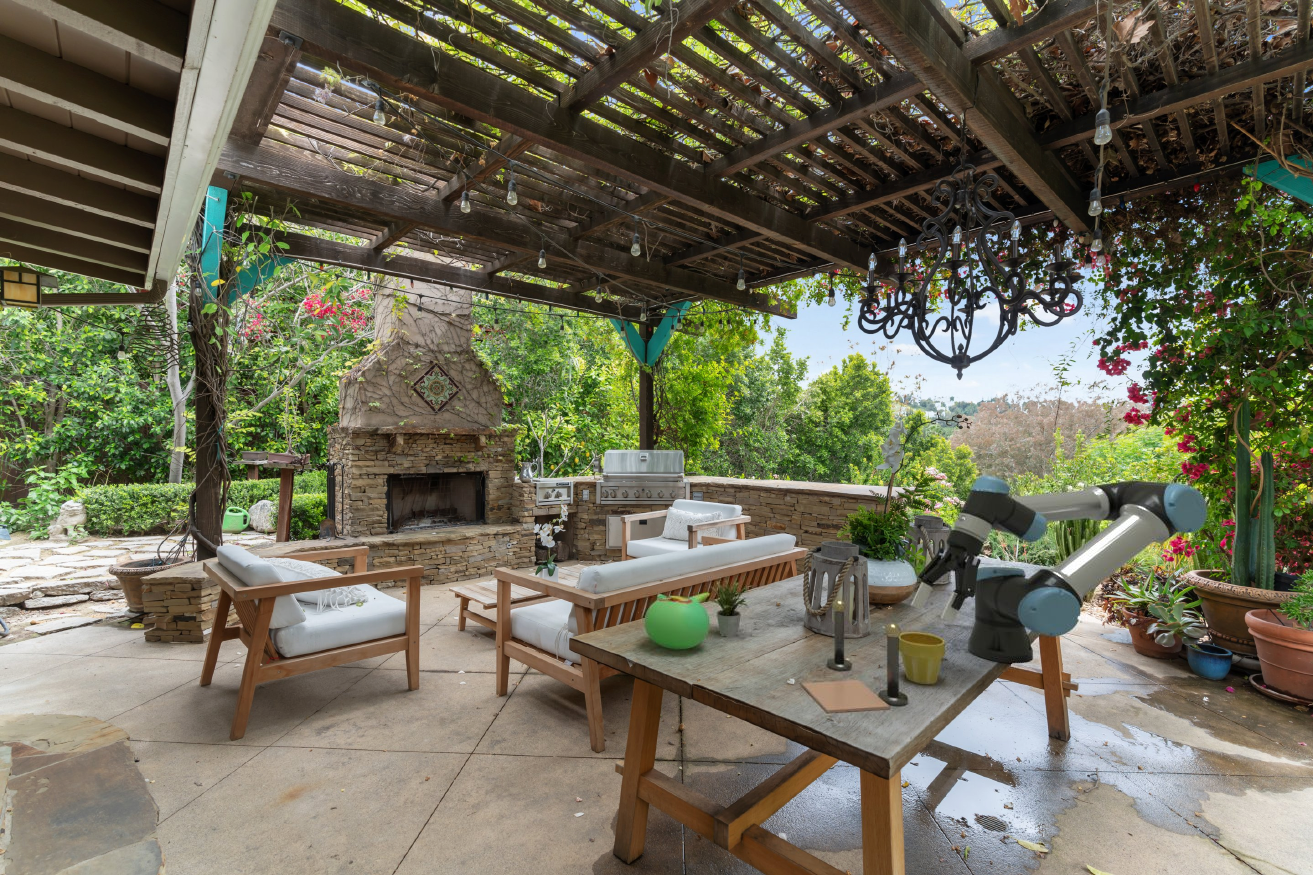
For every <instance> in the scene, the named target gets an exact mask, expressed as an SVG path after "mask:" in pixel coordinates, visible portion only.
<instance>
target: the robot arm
mask: <svg viewBox="0 0 1313 875" xmlns="http://www.w3.org/2000/svg"><path fill="white" fill-rule="evenodd" d="M1010 491H1011V486H1010V484H1008V483H1007V482H1006V481H1004V480H1002V479H1000V478H997V477H995V476H992V475H988V474H987V475H984V474H982V475H980V476H979V477H977V479H976V480H975V482H974V483H973V486H972V487H971V489H970V491H969V494H968V496H967V497H966V500H965V502H964V505H963V506H962V509H961V510H960V513H959V515H958V516H957V519H956V521H955V523H954V524H953V528H954V529H953V530H951V531H950V532H949V535H948V537H947V540H946V544H947V545H948V546H949V547H948V549H944V548H943V547H939V549H938V550H937V553H936V554H935V556H933V558H932V559H931V560H930V561H929V563H928V564H927V565H926V566H925V567H924V568H923V569H922V570H921V572H920V573H919V575H918V576H917V577H918V579H920V582H921V583H920V584H919V587H918V589H917V591H916V593H915V596H914V597H913V599H912V602H911V603H910V606H912V607H914V608H915V609H917V610H919V611H921V612H922V611H923V608H924V606H925V605H926V602H927V601H928V599H929V595H930V594H931V592H932V590H933V588H934V584H935V583H936V582H937V581H938V580H939V579H941V578H942V577H943V576H945V575H946V573H949V572H954V581H955V582H954V584H955V589H954V590H952V593H951V595H950V597H949V599H948V601H947V603H946V605H945V608H944V610H943V612H942V614H941V616H940V619H941V620H943V621H945V622H947V623H949V624H950V625H953V624H954V622H955V619H956V618H957V615H958V613H959V612H960V610H961V608H962V606H963V604H964V602H965V600H966V599H968V598H974V624H973V627H972V629H971V632H970V635H969V638H968V640H967V649H968V652H970V653H971V654H973V655H975V656H977V657H980V658H982V659H986V660H989V661H993V662H998V663H1008V664H1026V663H1027V664H1028V663H1030V662H1032V661H1033V659H1034V650H1033V647H1032V645H1031V642H1030V641H1031V640H1030V639H1029V636H1028V633H1027V629H1028V631H1029V630H1030V631H1031V632H1034V633H1036V634H1037V633H1038V634H1041V635H1043V636H1049V637H1058V636H1063V635H1066V634H1067V633H1070V632H1071V631H1072V630H1073V629H1074V628H1075V627H1077V625H1078V623H1079V617H1080V616H1081V613H1082V612H1081V611H1082V610H1081V608H1083V606H1084V599H1083V598H1084V597H1085V596H1086V595H1088V594H1089V593H1090V592H1091V591H1093V590H1094V589H1096V587H1098V586H1099V585H1100V584H1102V583H1103V581H1105V580H1106V579H1108V578H1109V577H1111V576H1112V575H1113V574H1114V573H1115V572H1117V571H1118V570H1119V569H1121V568H1122V567H1123V566H1125V565H1126V564H1127V563H1128V562H1130V561H1131V560H1132V559H1133V558H1134V557H1136V556H1137V555H1138V554H1140V553H1141V552H1142V551H1144V550H1145V549H1146V548H1148V546H1150V545H1151V544H1152V543H1154V544H1155V543H1156V544H1157V543H1158V544H1162V543H1166V542H1167V541H1168V540H1169V539H1171V538H1172V537H1174V536H1175V535H1176V534H1177V533H1183V534H1189V533H1195V532H1197V531H1199V530H1200V529H1201V528H1203V526H1204V525H1205V523H1206V520H1207V518H1208V507H1207V502H1206V499H1205V498H1204V495H1202V493H1201V492H1200V491H1199V490H1198V489H1197V488H1195V487H1193V486H1191V485H1188V484H1181V483H1179V482H1171V483H1170V482H1157V481H1155V482H1154V481H1142V480H1126V481H1125V480H1124V481H1118V482H1111V483H1110V482H1109V483H1103V484H1095V485H1089V486H1086V487H1084V488H1083V489H1082V490H1073V491H1065V492H1064V491H1063V492H1062V491H1061V492H1051V493H1042V494H1040V493H1039V494H1033V495H1031V494H1030V495H1029V494H1028V495H1019V496H1010V495H1009V494H1010ZM1082 519H1089V520H1091V521H1095V522H1100V521H1101V522H1102V521H1110V522H1112V523H1110V524H1109V525H1107V526H1106V527H1105V528H1103V529H1102V530H1101V531H1100V532H1098V533H1097V534H1096V535H1094V536H1093V537H1092V538H1091V539H1089V540H1088V541H1086V542H1085V543H1084V544H1083V545H1082V546H1080V547H1079V548H1078V549H1076V550H1075V551H1074V552H1073V553H1071V554H1070V555H1069V556H1067V557H1066V558H1065V559H1064V560H1062V561H1061V562H1060V563H1058V564H1057V565H1055V566H1054V567H1053V568H1052V569H1050V568H1040V569H1038V571H1037V572H1035V573H1034V574H1032V575H1031V576H1030V577H1029V578H1026V573H1025V570H1024V569H1023V568H1018V567H1009V566H1007V567H1004V566H988V567H987V566H984V567H983V566H982V567H979V566H980V565H981V562H982V561H981V559H980V558H979V557H978V556H979V555H980V554H981V551H982V549H983V547H984V542H987V539H988V537H989V535H990V533H991V531H992V530H993V531H997V532H1002V533H1006V534H1010V535H1013V536H1015V537H1017V539H1019V540H1022V541H1023V542H1024V541H1025V542H1026V543H1035V542H1037V541H1039V540H1040V539H1042V538H1043V537H1044V536H1045V534H1046V531H1047V530H1048V523H1050V522H1051V523H1053V522H1059V521H1060V522H1062V521H1071V520H1082Z"/></svg>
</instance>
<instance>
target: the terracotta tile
mask: <svg viewBox="0 0 1313 875" xmlns="http://www.w3.org/2000/svg"><path fill="white" fill-rule="evenodd" d="M801 687H802V688H803V690H805V691H806V692H807V693H808V694H809V696H810V697H811V698H812V699H813V700H814V701H815V702H816V703H817V704H818V705H819V706H820V707H821V708H822V710H824V711H825V712H826V713H827V714H835V712H838V713H848V712H847V711H854V712H866V711H881V710H883V711H884V710H891V705H888V704H887V703H885V702H884V701H883V700H882V699H881V698H879V697H878V695H877V694H876V693H875V692H873V691H872V690H871V689H870V688H869V687H868V686H866V685H865V684H863V682H861V681H860V680H858V679H855V680H854V679H853V680H835V681H821V682H820V681H817V682H804V683H803V682H802V683H801Z"/></svg>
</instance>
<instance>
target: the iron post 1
mask: <svg viewBox="0 0 1313 875" xmlns="http://www.w3.org/2000/svg"><path fill="white" fill-rule="evenodd" d="M832 608H833V615H834V616H833V618H834V619H833V620H834V624H833V626H834V630H833V632H834V633H833V634H834V635H833V637H834V638H833V640H834V645H833V646H834V648H833V649H834V653H833V654H834V657H833V658H830V659H827V660H826V667H827V668H828V669H830V670H833V671H836V672H837V671H838V672H849V671H852V670H853V664H852V662H851V660H850V661H849V660H847V659H845V610H846V608H847V606H846V602H844V601H843V600H841V599H836V600H834V602H833V603H832Z"/></svg>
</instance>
